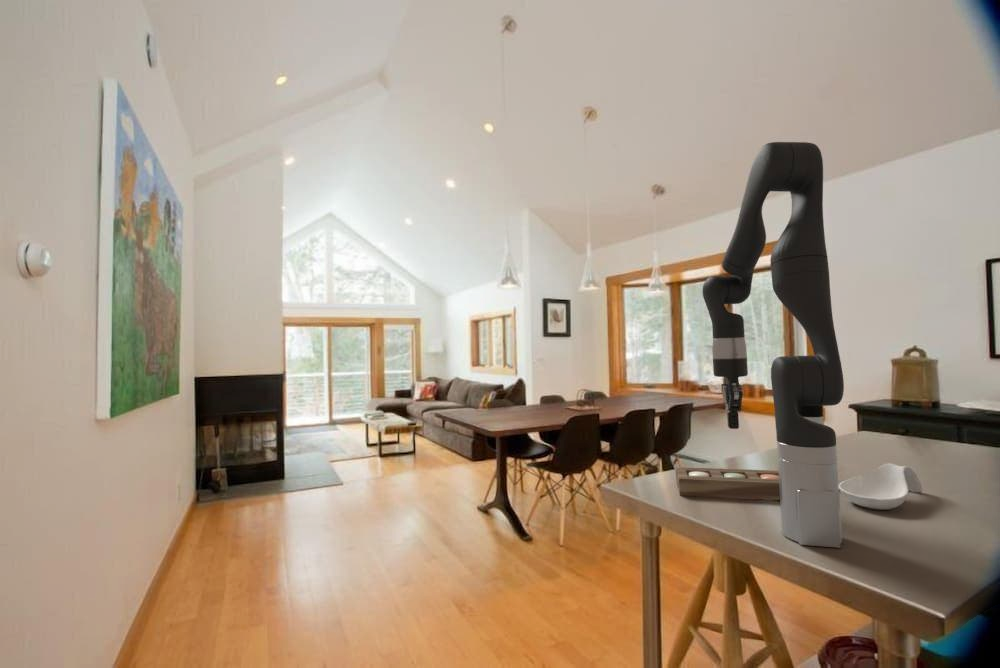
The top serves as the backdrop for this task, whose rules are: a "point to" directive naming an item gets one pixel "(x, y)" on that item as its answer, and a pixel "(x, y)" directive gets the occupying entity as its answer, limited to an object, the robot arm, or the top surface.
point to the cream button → (699, 474)
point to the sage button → (733, 475)
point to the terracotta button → (770, 476)
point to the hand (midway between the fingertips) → (733, 428)
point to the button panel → (727, 484)
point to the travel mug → (811, 413)
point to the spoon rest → (881, 487)
